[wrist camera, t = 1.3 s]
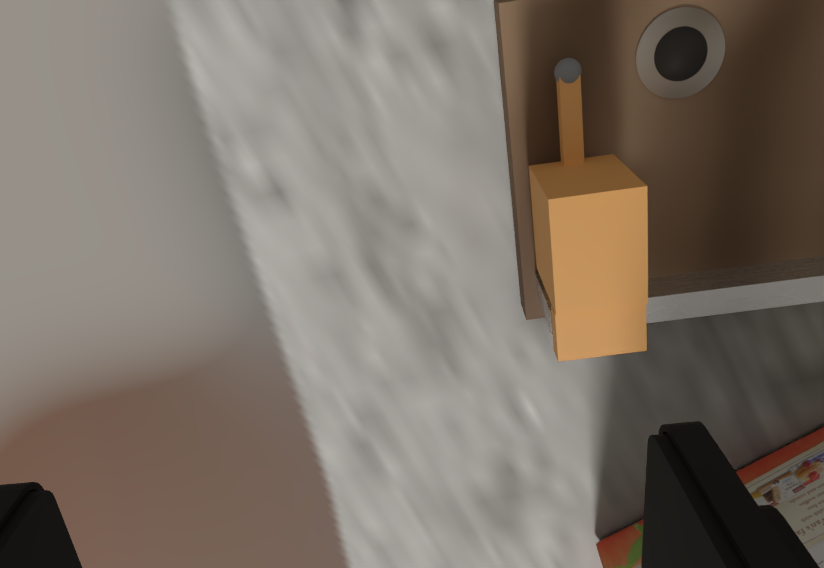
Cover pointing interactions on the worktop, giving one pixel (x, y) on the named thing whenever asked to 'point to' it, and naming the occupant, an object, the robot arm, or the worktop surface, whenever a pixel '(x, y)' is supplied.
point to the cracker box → (758, 500)
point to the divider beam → (725, 290)
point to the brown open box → (678, 121)
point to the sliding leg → (590, 239)
